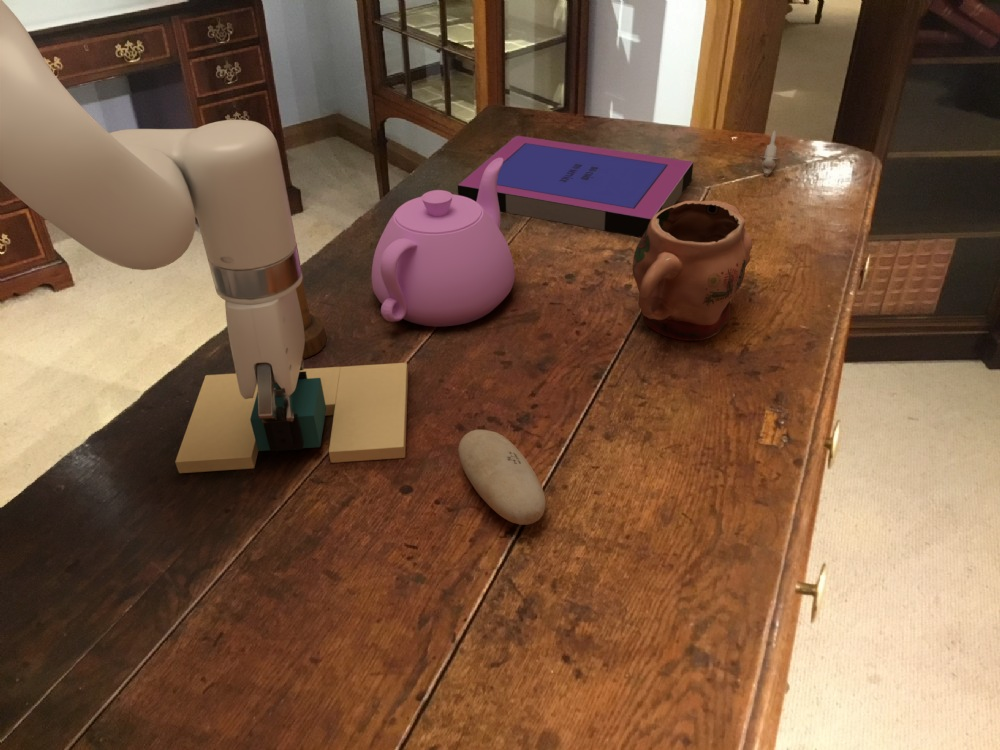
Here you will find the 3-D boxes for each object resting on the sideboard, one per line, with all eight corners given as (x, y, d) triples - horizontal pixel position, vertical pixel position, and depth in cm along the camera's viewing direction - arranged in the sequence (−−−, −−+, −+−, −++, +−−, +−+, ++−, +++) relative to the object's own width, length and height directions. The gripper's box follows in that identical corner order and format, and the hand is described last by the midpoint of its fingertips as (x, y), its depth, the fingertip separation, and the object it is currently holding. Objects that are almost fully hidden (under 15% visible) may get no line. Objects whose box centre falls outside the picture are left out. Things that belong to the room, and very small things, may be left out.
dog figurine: (754, 184, 136) (756, 167, 131) (762, 140, 138) (765, 121, 132) (775, 187, 135) (778, 169, 130) (783, 141, 137) (786, 123, 132)
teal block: (258, 451, 83) (249, 419, 80) (267, 412, 87) (260, 381, 85) (320, 447, 83) (314, 415, 80) (326, 408, 88) (320, 377, 85)
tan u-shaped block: (178, 473, 83) (174, 462, 82) (208, 385, 94) (205, 375, 93) (405, 458, 84) (403, 446, 83) (408, 373, 95) (406, 362, 94)
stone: (493, 421, 83) (570, 458, 74) (488, 482, 85) (562, 526, 75) (442, 426, 80) (515, 465, 71) (438, 489, 82) (508, 536, 72)
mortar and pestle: (267, 334, 102) (235, 195, 91) (322, 324, 103) (296, 186, 92) (273, 365, 97) (239, 222, 86) (330, 354, 98) (303, 211, 87)
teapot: (450, 361, 96) (442, 254, 88) (332, 318, 104) (314, 216, 96) (558, 265, 113) (560, 167, 105) (449, 234, 121) (442, 141, 113)
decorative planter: (696, 389, 91) (711, 275, 82) (594, 355, 96) (599, 246, 88) (760, 302, 104) (779, 197, 96) (667, 277, 110) (677, 175, 101)
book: (516, 135, 142) (693, 161, 131) (516, 152, 144) (691, 180, 133) (457, 184, 127) (652, 219, 116) (458, 203, 129) (650, 239, 118)
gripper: (231, 224, 81) (267, 376, 92) (190, 324, 67) (238, 489, 78) (310, 220, 81) (337, 372, 92) (286, 319, 67) (321, 484, 78)
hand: (291, 424), depth 85 cm, fingers closed on teal block, 5 cm apart
